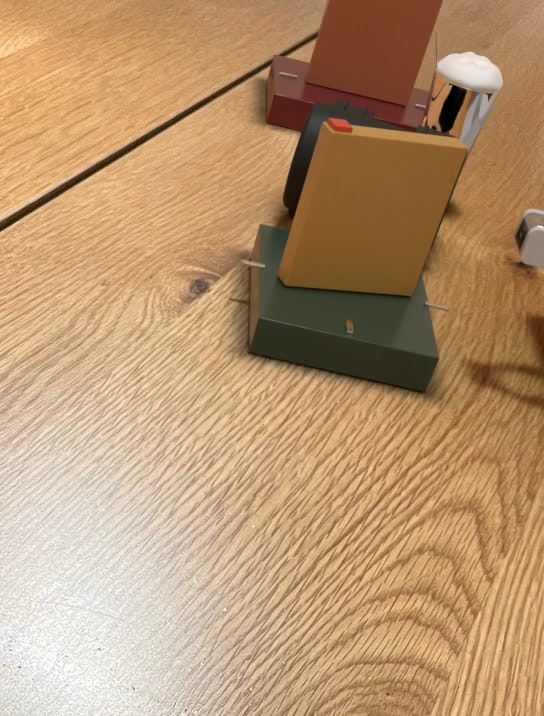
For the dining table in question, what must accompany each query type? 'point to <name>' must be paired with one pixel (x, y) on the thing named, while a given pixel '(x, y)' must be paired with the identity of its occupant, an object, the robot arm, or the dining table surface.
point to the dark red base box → (328, 98)
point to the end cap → (309, 140)
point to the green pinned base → (339, 323)
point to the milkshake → (462, 96)
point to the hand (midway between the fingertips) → (521, 234)
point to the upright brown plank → (373, 46)
